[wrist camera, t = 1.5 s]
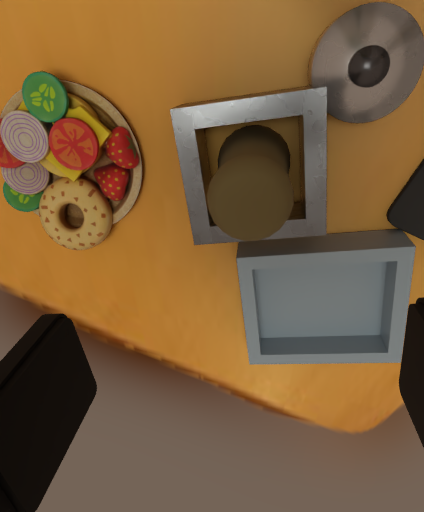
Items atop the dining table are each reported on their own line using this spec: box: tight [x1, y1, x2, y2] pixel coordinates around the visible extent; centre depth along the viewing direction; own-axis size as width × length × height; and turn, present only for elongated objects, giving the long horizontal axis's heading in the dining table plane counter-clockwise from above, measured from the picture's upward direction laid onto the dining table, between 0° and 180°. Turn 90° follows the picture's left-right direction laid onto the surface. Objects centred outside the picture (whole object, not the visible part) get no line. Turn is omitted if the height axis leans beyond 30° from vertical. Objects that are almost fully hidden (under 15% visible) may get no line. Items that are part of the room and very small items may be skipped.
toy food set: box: [0, 71, 142, 250], centre depth 31 cm, size 13×13×3 cm
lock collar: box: [170, 2, 424, 245], centre depth 26 cm, size 17×15×4 cm
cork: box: [207, 125, 294, 241], centre depth 25 cm, size 6×6×11 cm
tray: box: [236, 229, 416, 364], centre depth 33 cm, size 14×12×4 cm
